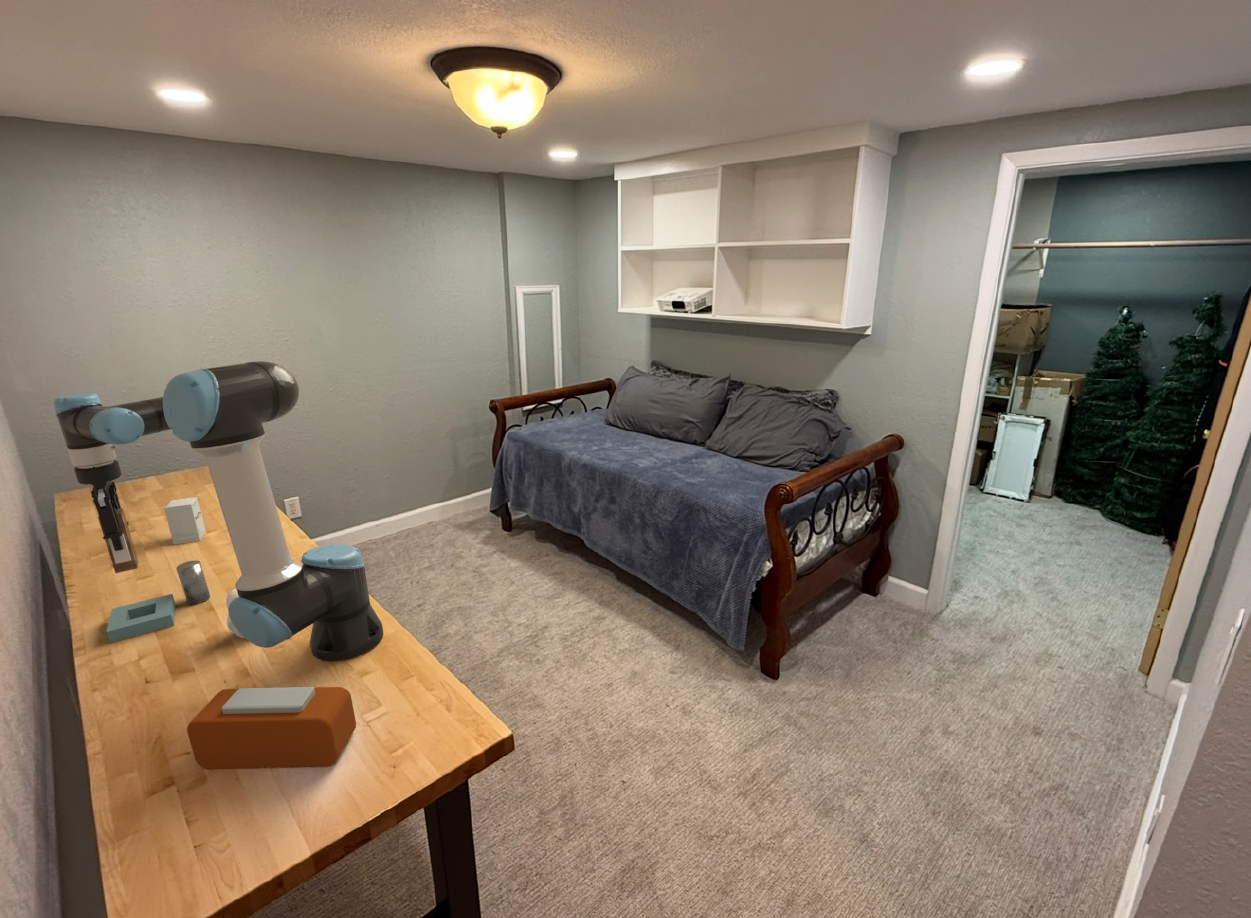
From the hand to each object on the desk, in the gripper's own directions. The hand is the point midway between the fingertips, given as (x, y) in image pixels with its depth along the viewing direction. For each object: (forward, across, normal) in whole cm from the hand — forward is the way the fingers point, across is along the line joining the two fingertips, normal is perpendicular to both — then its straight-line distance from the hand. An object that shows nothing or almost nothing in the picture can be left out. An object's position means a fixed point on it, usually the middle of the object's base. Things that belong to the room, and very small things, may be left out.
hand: (124, 557), depth 139 cm
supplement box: (+18, +52, -9) cm, 56 cm away
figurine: (+18, -20, -21) cm, 34 cm away
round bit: (+18, +5, -11) cm, 21 cm away
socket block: (+18, 0, 0) cm, 18 cm away
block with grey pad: (+18, -66, -23) cm, 72 cm away
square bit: (+3, 0, 0) cm, 3 cm away
